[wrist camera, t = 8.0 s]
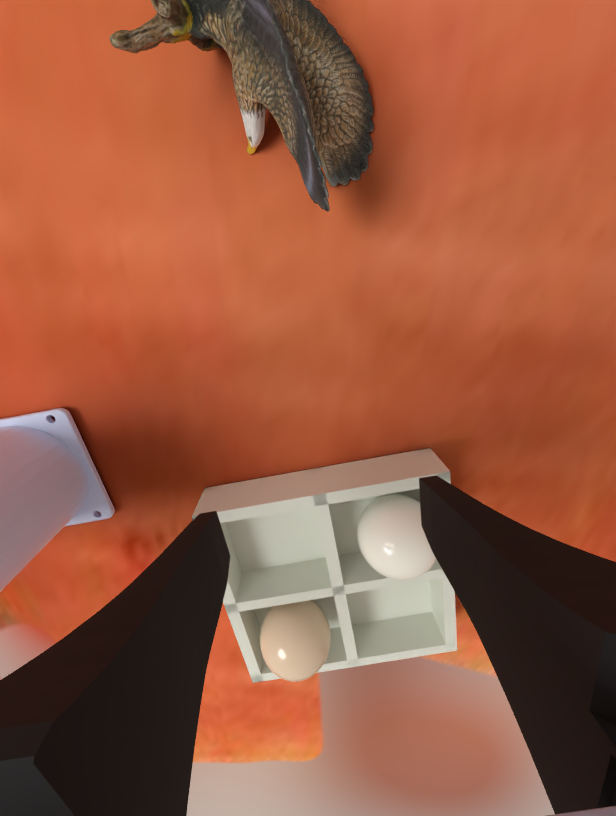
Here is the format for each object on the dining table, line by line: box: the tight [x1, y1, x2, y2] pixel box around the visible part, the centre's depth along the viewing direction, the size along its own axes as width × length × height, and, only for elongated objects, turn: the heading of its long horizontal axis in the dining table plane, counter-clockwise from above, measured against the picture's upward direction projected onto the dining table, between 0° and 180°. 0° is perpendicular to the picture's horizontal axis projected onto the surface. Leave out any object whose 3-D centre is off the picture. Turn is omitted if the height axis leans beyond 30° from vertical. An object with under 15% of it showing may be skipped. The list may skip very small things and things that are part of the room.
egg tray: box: [192, 448, 457, 683], centre depth 23 cm, size 15×15×3 cm
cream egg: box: [357, 494, 436, 580], centre depth 21 cm, size 5×5×5 cm
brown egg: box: [260, 600, 331, 682], centre depth 23 cm, size 5×5×5 cm
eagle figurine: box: [110, 0, 374, 211], centre depth 13 cm, size 8×7×9 cm
